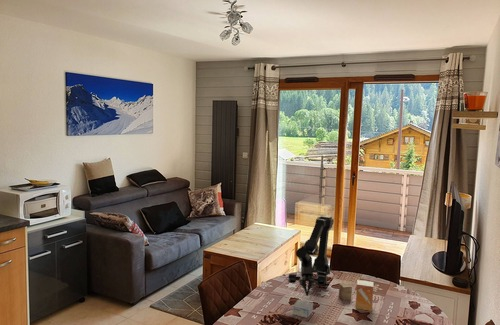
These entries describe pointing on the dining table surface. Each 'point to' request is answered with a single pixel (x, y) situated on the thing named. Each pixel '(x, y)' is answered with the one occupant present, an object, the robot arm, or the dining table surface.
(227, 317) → the dining table surface
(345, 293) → the olive beige block
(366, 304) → the small box
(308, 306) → the medicine box
